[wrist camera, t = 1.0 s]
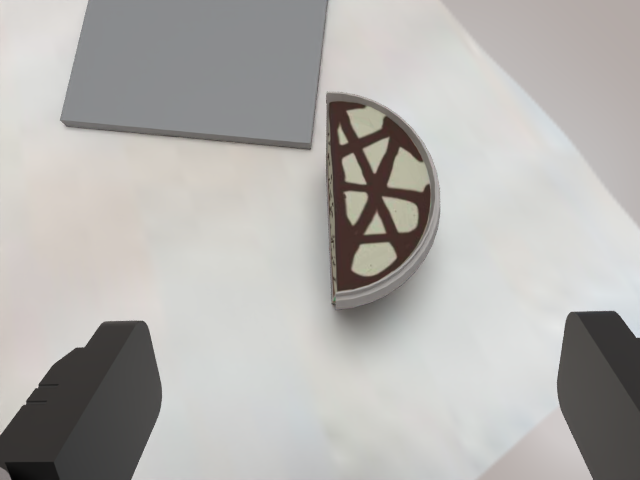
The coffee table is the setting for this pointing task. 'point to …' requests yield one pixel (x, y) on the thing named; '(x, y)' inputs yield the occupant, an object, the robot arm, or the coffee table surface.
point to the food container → (375, 199)
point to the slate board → (199, 69)
